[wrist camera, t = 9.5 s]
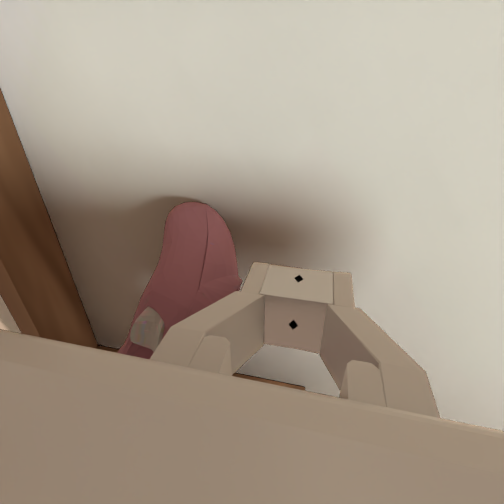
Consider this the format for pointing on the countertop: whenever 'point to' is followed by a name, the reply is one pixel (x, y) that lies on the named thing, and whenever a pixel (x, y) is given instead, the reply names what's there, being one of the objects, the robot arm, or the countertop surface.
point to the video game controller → (184, 275)
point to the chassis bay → (39, 256)
